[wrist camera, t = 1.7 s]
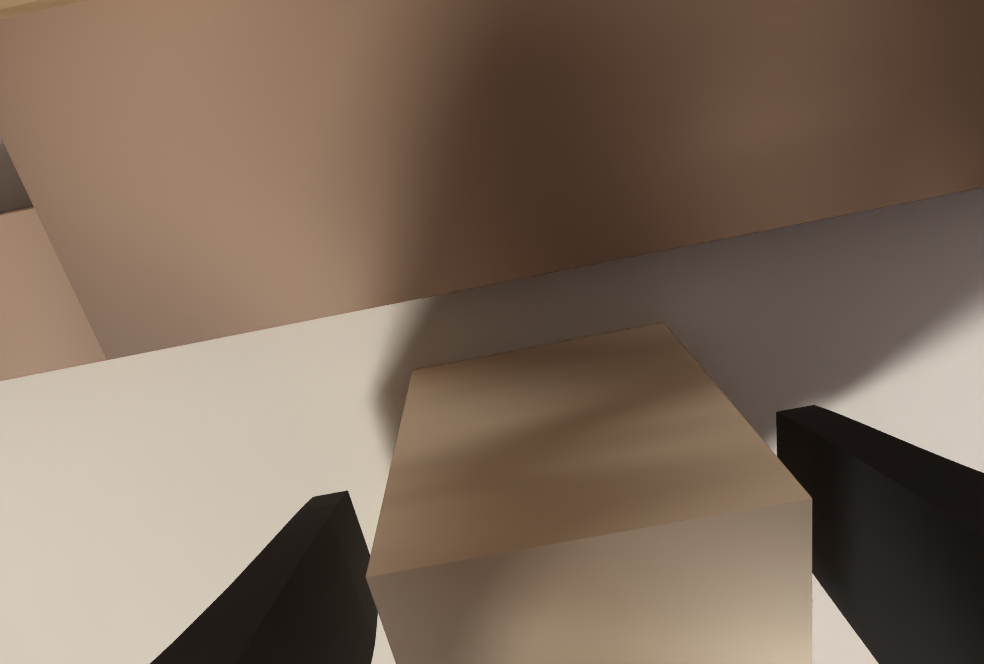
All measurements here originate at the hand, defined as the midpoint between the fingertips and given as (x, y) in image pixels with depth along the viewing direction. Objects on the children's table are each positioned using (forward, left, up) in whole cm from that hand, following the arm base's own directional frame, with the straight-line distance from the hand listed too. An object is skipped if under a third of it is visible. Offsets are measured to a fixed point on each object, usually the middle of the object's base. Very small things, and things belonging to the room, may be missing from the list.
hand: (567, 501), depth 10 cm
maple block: (0, 0, -2) cm, 2 cm away
